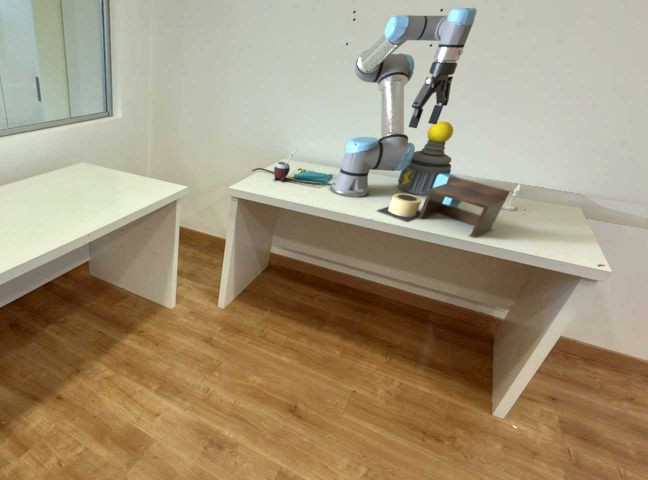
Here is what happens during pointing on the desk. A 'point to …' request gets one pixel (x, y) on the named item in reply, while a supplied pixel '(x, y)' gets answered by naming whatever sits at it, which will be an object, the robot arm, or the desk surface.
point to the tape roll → (404, 205)
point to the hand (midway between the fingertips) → (422, 125)
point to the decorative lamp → (428, 162)
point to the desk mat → (397, 215)
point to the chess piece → (511, 200)
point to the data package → (442, 180)
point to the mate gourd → (282, 169)
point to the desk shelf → (468, 193)
